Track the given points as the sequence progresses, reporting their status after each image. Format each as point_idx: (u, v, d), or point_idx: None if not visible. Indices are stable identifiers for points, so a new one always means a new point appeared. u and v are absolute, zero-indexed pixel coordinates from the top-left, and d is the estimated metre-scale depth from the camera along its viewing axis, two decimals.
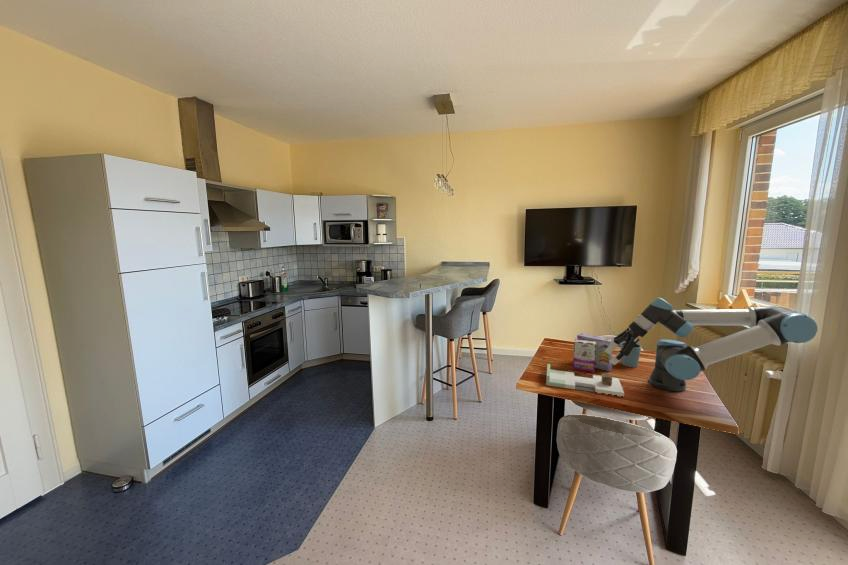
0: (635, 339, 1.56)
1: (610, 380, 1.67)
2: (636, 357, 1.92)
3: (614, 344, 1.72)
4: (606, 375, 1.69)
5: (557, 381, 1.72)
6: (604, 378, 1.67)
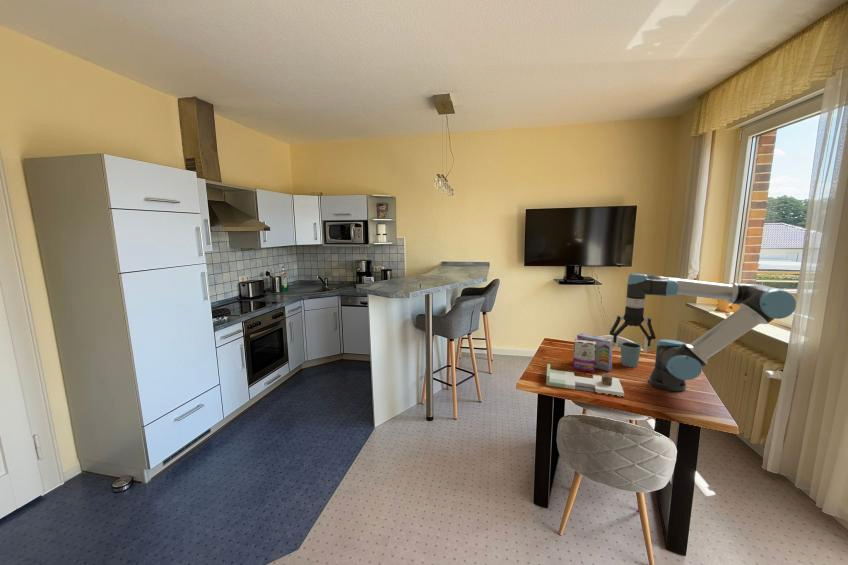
0: None
1: (610, 380, 1.67)
2: (636, 357, 1.92)
3: None
4: (606, 375, 1.69)
5: (557, 381, 1.72)
6: (604, 378, 1.67)
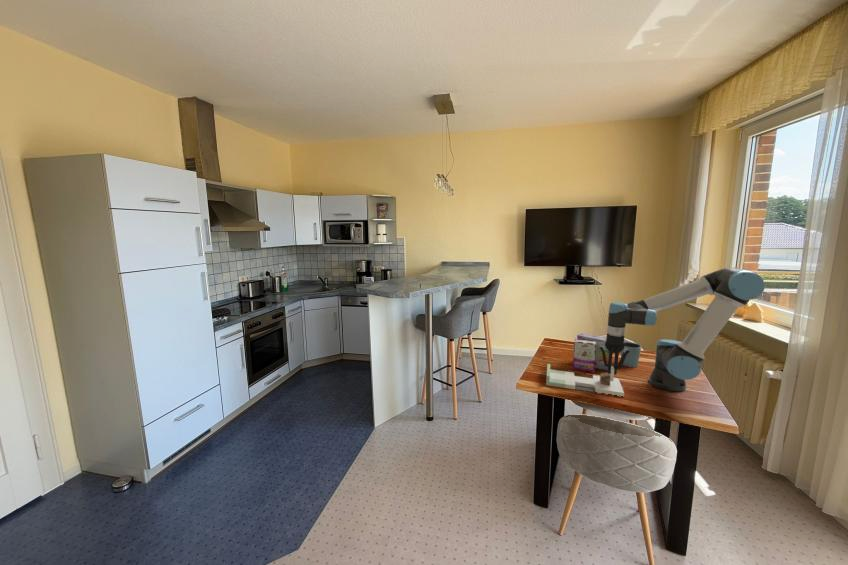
0: None
1: (608, 380, 1.67)
2: (636, 357, 1.92)
3: None
4: (604, 375, 1.69)
5: (557, 381, 1.72)
6: (602, 378, 1.68)
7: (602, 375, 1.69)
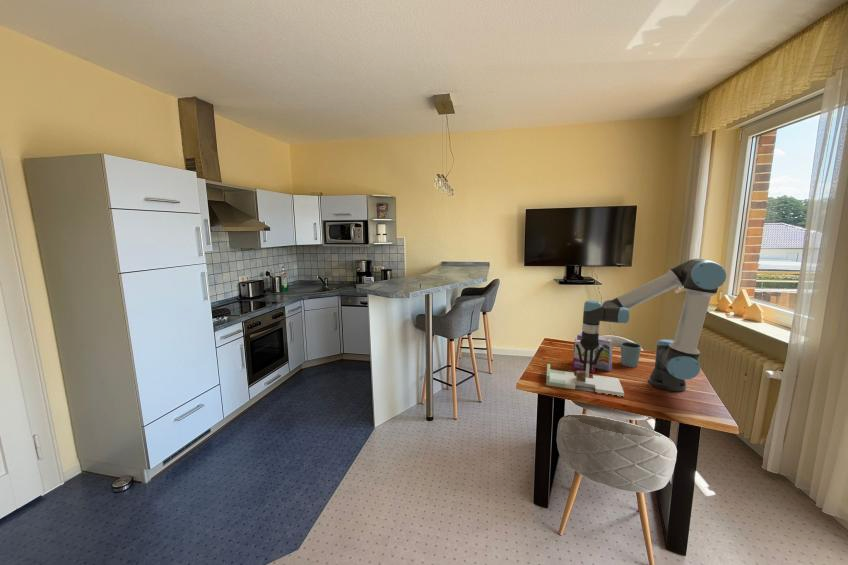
0: None
1: (584, 376, 1.71)
2: (636, 357, 1.92)
3: None
4: (580, 371, 1.73)
5: (557, 381, 1.72)
6: (578, 374, 1.72)
7: (578, 372, 1.73)
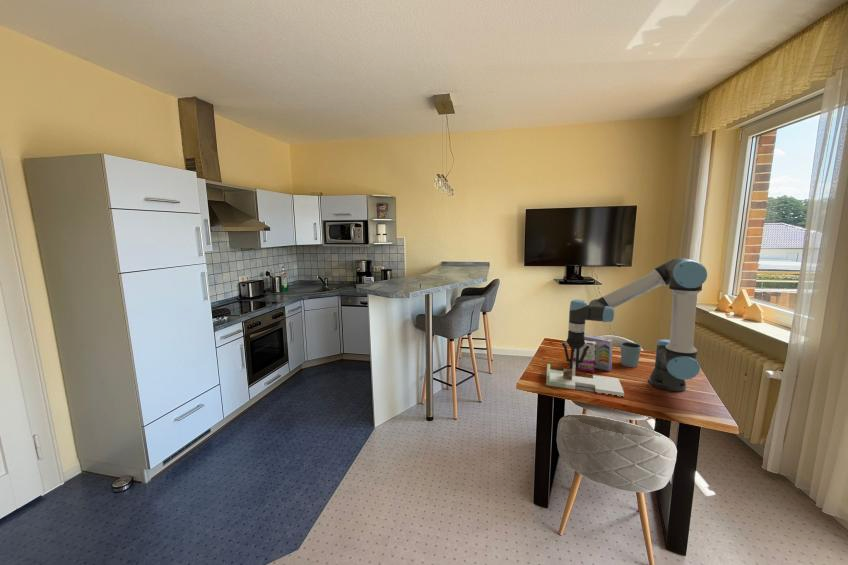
0: None
1: (570, 375, 1.73)
2: (636, 357, 1.92)
3: None
4: (567, 370, 1.75)
5: (557, 381, 1.72)
6: (565, 373, 1.74)
7: (565, 370, 1.75)
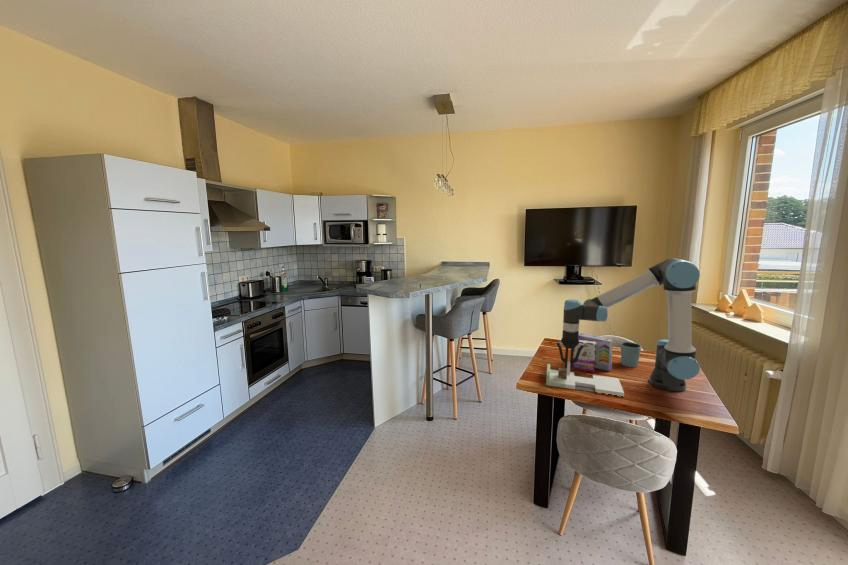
0: None
1: (565, 374, 1.74)
2: (636, 357, 1.92)
3: None
4: (562, 369, 1.76)
5: (557, 381, 1.72)
6: (560, 372, 1.75)
7: (559, 369, 1.76)
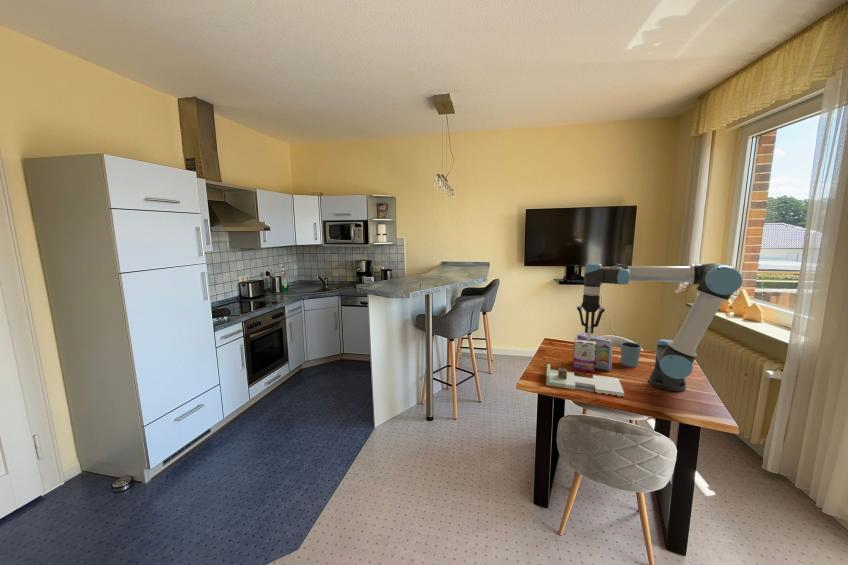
0: None
1: (565, 374, 1.74)
2: (636, 357, 1.92)
3: None
4: (562, 369, 1.76)
5: (557, 381, 1.72)
6: (559, 372, 1.75)
7: (559, 369, 1.76)
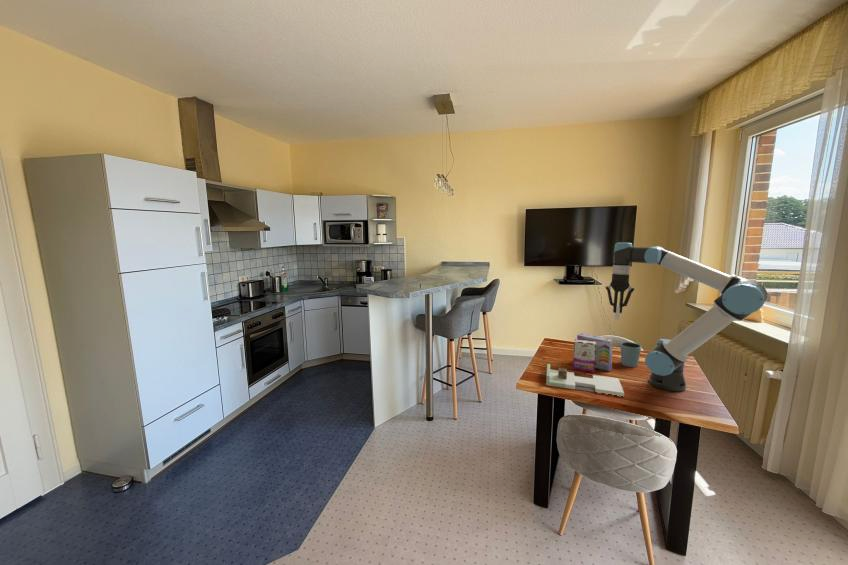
0: None
1: (565, 374, 1.74)
2: (636, 357, 1.92)
3: None
4: (562, 369, 1.76)
5: (557, 381, 1.72)
6: (559, 372, 1.75)
7: (559, 369, 1.76)
